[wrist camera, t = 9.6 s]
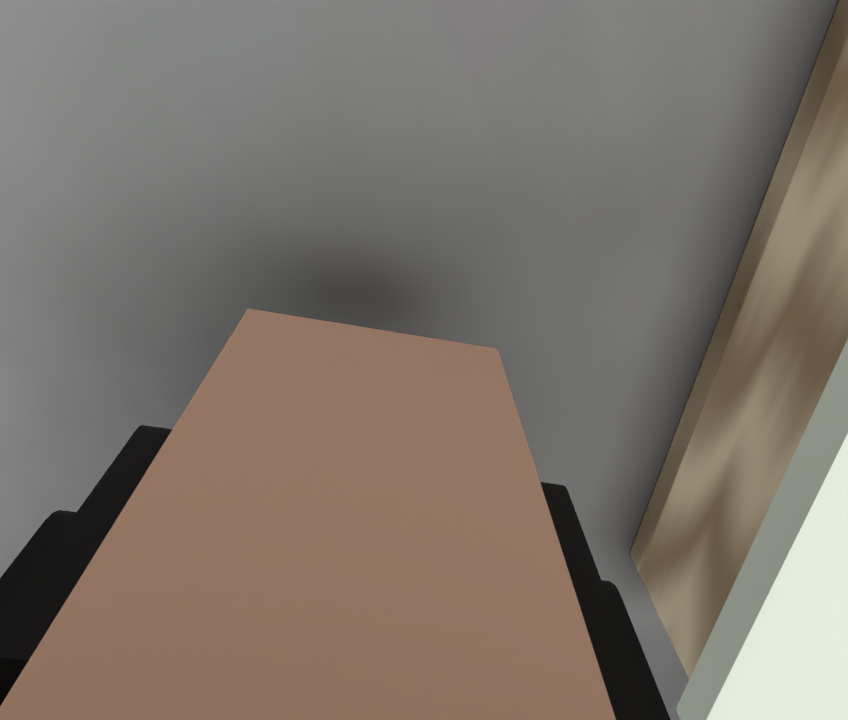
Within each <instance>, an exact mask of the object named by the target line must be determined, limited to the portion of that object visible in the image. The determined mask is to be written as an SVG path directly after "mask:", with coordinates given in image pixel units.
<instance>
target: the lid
mask: <svg viewBox="0 0 848 720" xmlns="http://www.w3.org/2000/svg"><path fill="white" fill-rule="evenodd" d="M676 710H677V713H678V715H679V717H680V720H848V339H847V341H846V343H845V346H844V348H843V350H842V352H841V354H840V356H839V359H838V361H837V363H836V365H835V367H834V369H833V371H832V374H831V376H830V378H829V380H828V382H827V384H826V387H825V389H824V391H823V393H822V395H821V397H820V399H819V402H818V404H817V406H816V408H815V410H814V412H813V415H812V417H811V419H810V421H809V423H808V425H807V427H806V430H805V432H804V434H803V436H802V438H801V440H800V443H799V445H798V447H797V449H796V451H795V453H794V455H793V458H792V460H791V462H790V464H789V466H788V468H787V471H786V473H785V475H784V477H783V479H782V481H781V484H780V486H779V488H778V490H777V492H776V494H775V496H774V499H773V501H772V503H771V505H770V507H769V509H768V512H767V514H766V516H765V518H764V520H763V522H762V524H761V527H760V529H759V531H758V533H757V535H756V537H755V540H754V542H753V544H752V546H751V548H750V550H749V552H748V555H747V557H746V559H745V561H744V563H743V565H742V568H741V570H740V572H739V574H738V576H737V578H736V580H735V583H734V585H733V587H732V589H731V591H730V593H729V596H728V598H727V600H726V602H725V604H724V606H723V609H722V611H721V613H720V615H719V617H718V619H717V621H716V624H715V626H714V628H713V630H712V632H711V634H710V637H709V639H708V641H707V643H706V645H705V647H704V649H703V652H702V654H701V656H700V658H699V660H698V662H697V665H696V667H695V669H694V671H693V673H692V675H691V677H690V680H689V682H688V684H687V686H686V688H685V690H684V693H683V695H682V697H681V699H680V701H679V703H678V705H677V708H676Z"/></svg>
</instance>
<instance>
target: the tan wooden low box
mask: <svg viewBox="0 0 848 720" xmlns="http://www.w3.org/2000/svg"><path fill="white" fill-rule="evenodd" d="M847 339H848V0H839V2H838V5H837V8H836V10H835V13H834V16H833V18H832V21H831V23H830V26H829V29H828V31H827V34H826V37H825V39H824V42H823V45H822V47H821V50H820V53H819V55H818V58H817V60H816V63H815V66H814V68H813V71H812V74H811V76H810V79H809V82H808V84H807V87H806V90H805V92H804V95H803V97H802V100H801V103H800V105H799V108H798V111H797V113H796V116H795V119H794V121H793V124H792V126H791V129H790V132H789V134H788V137H787V140H786V142H785V145H784V148H783V150H782V153H781V156H780V158H779V161H778V163H777V166H776V169H775V171H774V174H773V177H772V179H771V182H770V185H769V187H768V190H767V193H766V195H765V198H764V200H763V203H762V206H761V208H760V211H759V214H758V216H757V219H756V222H755V224H754V227H753V230H752V232H751V235H750V237H749V240H748V243H747V245H746V248H745V251H744V253H743V256H742V259H741V261H740V264H739V266H738V269H737V272H736V274H735V277H734V280H733V282H732V285H731V288H730V290H729V293H728V296H727V298H726V301H725V303H724V306H723V309H722V311H721V314H720V317H719V319H718V322H717V325H716V327H715V330H714V333H713V335H712V338H711V340H710V343H709V346H708V348H707V351H706V354H705V356H704V359H703V362H702V364H701V367H700V370H699V372H698V375H697V377H696V380H695V383H694V385H693V388H692V391H691V393H690V396H689V399H688V401H687V404H686V406H685V409H684V412H683V414H682V417H681V420H680V422H679V425H678V428H677V430H676V433H675V436H674V438H673V441H672V443H671V446H670V449H669V451H668V454H667V457H666V459H665V462H664V465H663V467H662V470H661V473H660V475H659V478H658V480H657V483H656V486H655V488H654V491H653V494H652V496H651V499H650V502H649V504H648V507H647V510H646V512H645V515H644V517H643V520H642V523H641V525H640V528H639V531H638V533H637V536H636V539H635V541H634V544H633V546H632V549H631V552H630V555H631V558H632V560H633V562H634V564H635V566H636V568H637V570H638V572H639V574H640V577H641V579H642V581H643V583H644V585H645V587H646V589H647V591H648V593H649V596H650V598H651V600H652V602H653V604H654V606H655V608H656V610H657V612H658V615H659V617H660V619H661V621H662V623H663V625H664V627H665V629H666V631H667V634H668V636H669V638H670V640H671V642H672V644H673V646H674V648H675V650H676V653H677V655H678V657H679V659H680V661H681V663H682V665H683V667H684V669H685V672H686V674H687V676H688V678H689V680H690V677H691V675H692V673H693V671H694V669H695V667H696V665H697V662H698V660H699V658H700V656H701V654H702V652H703V649H704V647H705V645H706V643H707V641H708V639H709V637H710V634H711V632H712V630H713V628H714V626H715V624H716V621H717V619H718V617H719V615H720V613H721V611H722V609H723V606H724V604H725V602H726V600H727V598H728V596H729V593H730V591H731V589H732V587H733V585H734V583H735V580H736V578H737V576H738V574H739V572H740V570H741V568H742V565H743V563H744V561H745V559H746V557H747V555H748V552H749V550H750V548H751V546H752V544H753V542H754V540H755V537H756V535H757V533H758V531H759V529H760V527H761V524H762V522H763V520H764V518H765V516H766V514H767V512H768V509H769V507H770V505H771V503H772V501H773V499H774V496H775V494H776V492H777V490H778V488H779V486H780V484H781V481H782V479H783V477H784V475H785V473H786V471H787V468H788V466H789V464H790V462H791V460H792V458H793V455H794V453H795V451H796V449H797V447H798V445H799V443H800V440H801V438H802V436H803V434H804V432H805V430H806V427H807V425H808V423H809V421H810V419H811V417H812V415H813V412H814V410H815V408H816V406H817V404H818V402H819V399H820V397H821V395H822V393H823V391H824V389H825V387H826V384H827V382H828V380H829V378H830V376H831V374H832V371H833V369H834V367H835V365H836V363H837V361H838V359H839V356H840V354H841V352H842V350H843V348H844V346H845V343H846V341H847Z"/></svg>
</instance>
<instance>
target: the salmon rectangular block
mask: <svg viewBox="0 0 848 720" xmlns="http://www.w3.org/2000/svg"><path fill="white" fill-rule="evenodd" d="M0 720H616V718H615V715H614V712H613V709H612V706H611V703H610V700H609V696H608V693H607V690H606V687H605V684H604V681H603V678H602V674H601V671H600V668H599V665H598V662H597V659H596V656H595V653H594V649H593V646H592V643H591V640H590V637H589V634H588V631H587V627H586V624H585V621H584V618H583V615H582V612H581V609H580V606H579V602H578V599H577V596H576V593H575V590H574V587H573V584H572V580H571V577H570V574H569V571H568V568H567V565H566V562H565V559H564V555H563V552H562V549H561V546H560V543H559V540H558V537H557V533H556V530H555V527H554V524H553V521H552V518H551V515H550V512H549V508H548V505H547V502H546V499H545V496H544V493H543V490H542V486H541V483H540V480H539V477H538V474H537V471H536V468H535V465H534V461H533V458H532V455H531V452H530V449H529V446H528V443H527V439H526V436H525V433H524V430H523V427H522V424H521V421H520V418H519V414H518V411H517V408H516V405H515V402H514V399H513V396H512V392H511V389H510V386H509V383H508V380H507V377H506V374H505V371H504V367H503V364H502V361H501V358H500V355H499V352H498V349H496V348H490V347H484V346H478V345H472V344H465V343H459V342H453V341H447V340H441V339H434V338H428V337H422V336H416V335H410V334H403V333H397V332H391V331H385V330H379V329H373V328H366V327H360V326H354V325H348V324H342V323H335V322H329V321H323V320H317V319H311V318H305V317H298V316H292V315H286V314H280V313H274V312H267V311H261V310H255V309H249V308H248V309H247V310H246V312H245V314H244V315H243V317H242V319H241V320H240V322H239V323H238V325H237V327H236V328H235V330H234V331H233V333H232V335H231V336H230V338H229V339H228V341H227V343H226V344H225V346H224V347H223V349H222V351H221V352H220V354H219V355H218V357H217V359H216V360H215V362H214V364H213V365H212V367H211V368H210V370H209V372H208V373H207V375H206V376H205V378H204V380H203V381H202V383H201V384H200V386H199V388H198V389H197V391H196V392H195V394H194V396H193V397H192V399H191V401H190V402H189V404H188V405H187V407H186V409H185V410H184V412H183V413H182V415H181V417H180V418H179V420H178V421H177V423H176V425H175V426H174V428H173V429H172V431H171V433H170V434H169V436H168V438H167V439H166V441H165V442H164V444H163V446H162V447H161V449H160V450H159V452H158V454H157V455H156V457H155V458H154V460H153V462H152V463H151V465H150V466H149V468H148V470H147V471H146V473H145V474H144V476H143V478H142V479H141V481H140V483H139V484H138V486H137V487H136V489H135V491H134V492H133V494H132V495H131V497H130V499H129V500H128V502H127V503H126V505H125V507H124V508H123V510H122V511H121V513H120V515H119V516H118V518H117V520H116V521H115V523H114V524H113V526H112V528H111V529H110V531H109V532H108V534H107V536H106V537H105V539H104V540H103V542H102V544H101V545H100V547H99V548H98V550H97V552H96V553H95V555H94V557H93V558H92V560H91V561H90V563H89V565H88V566H87V568H86V569H85V571H84V573H83V574H82V576H81V577H80V579H79V581H78V582H77V584H76V585H75V587H74V589H73V590H72V592H71V593H70V595H69V597H68V598H67V600H66V602H65V603H64V605H63V606H62V608H61V610H60V611H59V613H58V614H57V616H56V618H55V619H54V621H53V622H52V624H51V626H50V627H49V629H48V630H47V632H46V634H45V635H44V637H43V639H42V640H41V642H40V643H39V645H38V647H37V648H36V650H35V651H34V653H33V655H32V656H31V658H30V659H29V661H28V663H27V664H26V666H25V667H24V669H23V671H22V672H21V674H20V675H19V677H18V679H17V680H16V682H15V684H14V685H13V687H12V688H11V690H10V692H9V693H8V695H7V696H6V698H5V700H4V701H3V703H2V704H1V706H0Z"/></svg>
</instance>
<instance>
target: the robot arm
mask: <svg viewBox="0 0 848 720" xmlns="http://www.w3.org/2000/svg"><path fill="white" fill-rule="evenodd" d="M171 431H172V429H166V428H159V427H152V426H145V425H142V426H139V427H138V428H137V429H136V431H135V432H134V434H133V435H132V436H131V438H130V439H129V440H128V442H127V443H126V445H125V446H124V447H123V449H122V450H121V452H120V453H119V454H118V456H117V457H116V459H115V460H114V461H113V463H112V464H111V466H110V467H109V468H108V470H107V471H106V472H105V474H104V475H103V477H102V478H101V479H100V481H99V482H98V484H97V485H96V486H95V488H94V489H93V491H92V492H91V493H90V495H89V496H88V497H87V499H86V500H85V502H84V503H83V504H82V506H81V507H80V509H79V510H78V511H77V512H69V511H61V510H59V511H56V512H54V513H52V514H51V515H50V516H49V517H48V518H47V519H46V520H45V521H44V523H43V524H42V525H41V526H40V528H39V529H38V530H37V532H36V533H35V534H34V536H33V537H32V538H31V539H30V541H29V542H28V543H27V545H26V546H25V547H24V548H23V550H22V551H21V552H20V554H19V555H18V556H17V557H16V559H15V560H14V561H13V563H12V564H11V565H10V566H9V568H8V569H7V570H6V572H5V573H4V574H3V576H2V577H1V578H0V706H1V704H2V703H3V701H4V700H5V698H6V696H7V695H8V693H9V692H10V690H11V688H12V687H13V685H14V684H15V682H16V680H17V679H18V677H19V675H20V674H21V672H22V671H23V669H24V667H25V666H26V664H27V663H28V661H29V659H30V658H31V656H32V655H33V653H34V651H35V650H36V648H37V647H38V645H39V643H40V642H41V640H42V639H43V637H44V635H45V634H46V632H47V630H48V629H49V627H50V626H51V624H52V622H53V621H54V619H55V618H56V616H57V614H58V613H59V611H60V610H61V608H62V606H63V605H64V603H65V602H66V600H67V598H68V597H69V595H70V593H71V592H72V590H73V589H74V587H75V585H76V584H77V582H78V581H79V579H80V577H81V576H82V574H83V573H84V571H85V569H86V568H87V566H88V565H89V563H90V561H91V560H92V558H93V557H94V555H95V553H96V552H97V550H98V548H99V547H100V545H101V544H102V542H103V540H104V539H105V537H106V536H107V534H108V532H109V531H110V529H111V528H112V526H113V524H114V523H115V521H116V520H117V518H118V516H119V515H120V513H121V511H122V510H123V508H124V507H125V505H126V503H127V502H128V500H129V499H130V497H131V495H132V494H133V492H134V491H135V489H136V487H137V486H138V484H139V483H140V481H141V479H142V478H143V476H144V474H145V473H146V471H147V470H148V468H149V466H150V465H151V463H152V462H153V460H154V458H155V457H156V455H157V454H158V452H159V450H160V449H161V447H162V446H163V444H164V442H165V441H166V439H167V438H168V436H169V434H170V433H171ZM540 483H541V486H542V490H543V493H544V496H545V499H546V502H547V505H548V508H549V512H550V515H551V518H552V521H553V524H554V527H555V530H556V533H557V537H558V540H559V543H560V546H561V549H562V552H563V555H564V559H565V562H566V565H567V568H568V571H569V574H570V577H571V580H572V584H573V587H574V590H575V593H576V596H577V599H578V602H579V606H580V609H581V612H582V615H583V618H584V621H585V624H586V627H587V631H588V634H589V637H590V640H591V643H592V646H593V649H594V653H595V656H596V659H597V662H598V665H599V668H600V671H601V674H602V678H603V681H604V684H605V687H606V690H607V693H608V696H609V700H610V703H611V706H612V709H613V712H614V715H615V718H616V720H670V717H669V715H668V712H667V710H666V707H665V705H664V702H663V700H662V697H661V695H660V692H659V690H658V687H657V685H656V682H655V680H654V678H653V675H652V673H651V670H650V668H649V665H648V663H647V660H646V658H645V655H644V653H643V650H642V648H641V645H640V643H639V640H638V638H637V635H636V633H635V630H634V628H633V625H632V623H631V620H630V618H629V615H628V613H627V610H626V608H625V605H624V603H623V600H622V598H621V595H620V593H619V591H618V589H617V588H616V586H615V585H614V584H613V583H611V582H610V581H602V580H601V578H600V576H599V573H598V570H597V568H596V565H595V562H594V560H593V557H592V554H591V552H590V549H589V546H588V544H587V541H586V538H585V536H584V533H583V530H582V528H581V525H580V522H579V520H578V517H577V514H576V512H575V509H574V506H573V504H572V501H571V498H570V496H569V493H568V491H567V489H566V487H565V486H563V485H557V484H550V483H543V482H540Z"/></svg>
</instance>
